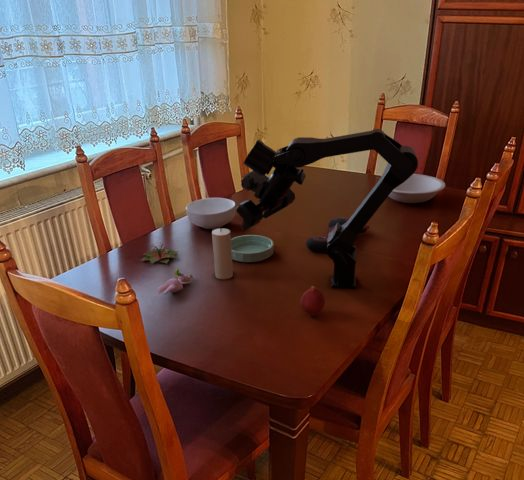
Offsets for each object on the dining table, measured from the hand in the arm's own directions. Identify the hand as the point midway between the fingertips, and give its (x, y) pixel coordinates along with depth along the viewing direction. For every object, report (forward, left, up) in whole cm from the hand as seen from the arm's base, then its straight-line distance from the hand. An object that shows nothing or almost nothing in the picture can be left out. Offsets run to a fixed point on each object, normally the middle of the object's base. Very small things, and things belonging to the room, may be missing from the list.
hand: (254, 223), depth 149 cm
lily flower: (+6, +30, -14) cm, 34 cm away
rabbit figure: (-15, +20, -14) cm, 28 cm away
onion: (-26, -17, -14) cm, 34 cm away
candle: (-5, +8, -14) cm, 17 cm away
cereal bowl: (+34, +19, -14) cm, 41 cm away
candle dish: (+11, +3, -14) cm, 18 cm away
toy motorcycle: (+21, -25, -14) cm, 36 cm away
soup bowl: (+62, -51, -14) cm, 82 cm away
